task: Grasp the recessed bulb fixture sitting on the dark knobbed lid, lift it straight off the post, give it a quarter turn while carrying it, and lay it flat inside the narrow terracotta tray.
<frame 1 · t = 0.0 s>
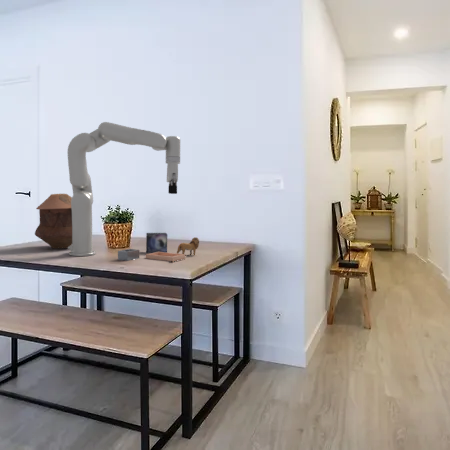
hand: (172, 193, 212), 31 cm above the table, tool pointing down, fingers open, 9 cm apart
recessed bulb fixture: (128, 258, 190), point 1 cm above the table, touching dark knobbed lid
small box: (156, 253, 213), on the table
dark knobbed lid: (128, 260, 190), on the table
tray: (165, 259, 194), on the table
lion figurine: (187, 255, 207), on the table
pottery vessel: (61, 248, 225), on the table
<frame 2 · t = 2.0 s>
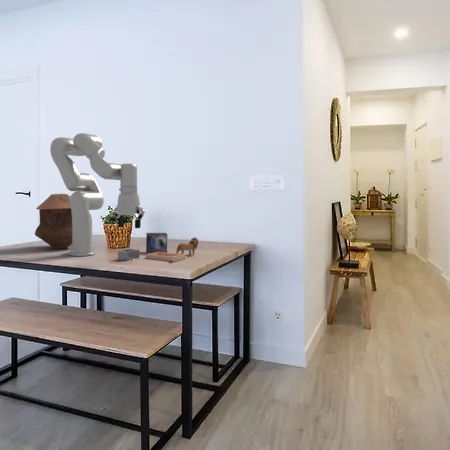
hand: (129, 227, 189), 15 cm above the table, tool pointing down, fingers open, 9 cm apart
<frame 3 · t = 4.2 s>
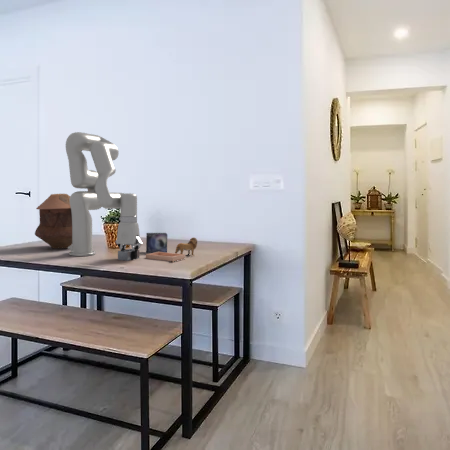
hand: (128, 258, 190), 1 cm above the table, tool pointing down, fingers closed on recessed bulb fixture, 5 cm apart
recessed bulb fixture: (128, 258, 190), point 1 cm above the table, touching gripper, dark knobbed lid
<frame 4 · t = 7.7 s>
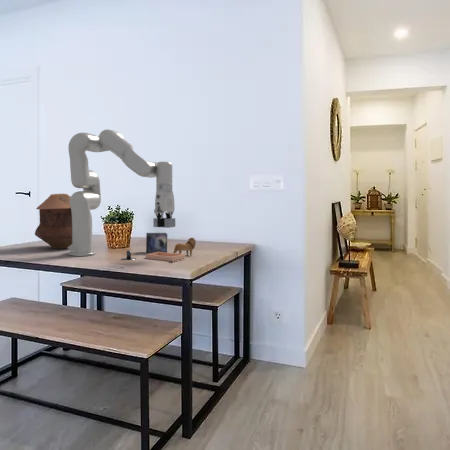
hand: (164, 226, 193), 16 cm above the table, tool pointing down, fingers closed on recessed bulb fixture, 5 cm apart
recessed bulb fixture: (164, 226, 193), point 16 cm above the table, touching gripper
lion figurine: (184, 256, 206), on the table
everything else where it was.
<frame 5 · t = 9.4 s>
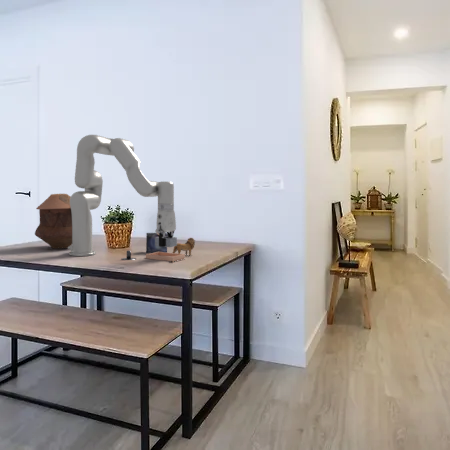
hand: (165, 245, 194), 7 cm above the table, tool pointing down, fingers closed on recessed bulb fixture, 5 cm apart
recessed bulb fixture: (165, 245, 194), point 6 cm above the table, touching gripper
when the fingers open (2 cm above the table, at t = 11.1 s): recessed bulb fixture drops 1 cm, resting on tray.
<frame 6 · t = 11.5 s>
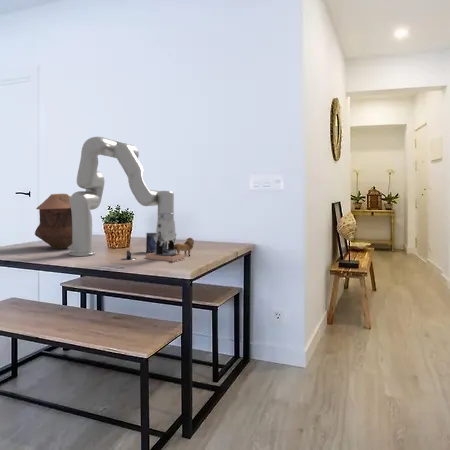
hand: (165, 252, 194), 3 cm above the table, tool pointing down, fingers open, 9 cm apart
recessed bulb fixture: (165, 258, 194), point 1 cm above the table, touching tray
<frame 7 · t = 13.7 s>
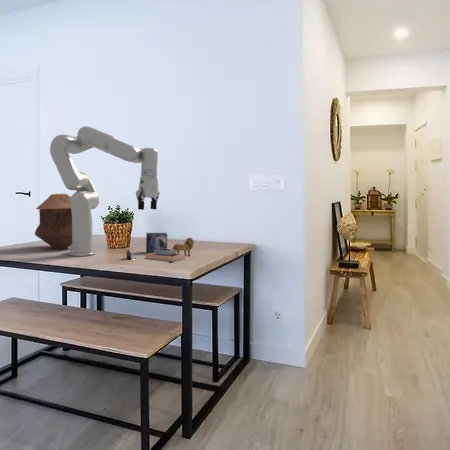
hand: (147, 209, 198), 23 cm above the table, tool pointing down, fingers open, 9 cm apart
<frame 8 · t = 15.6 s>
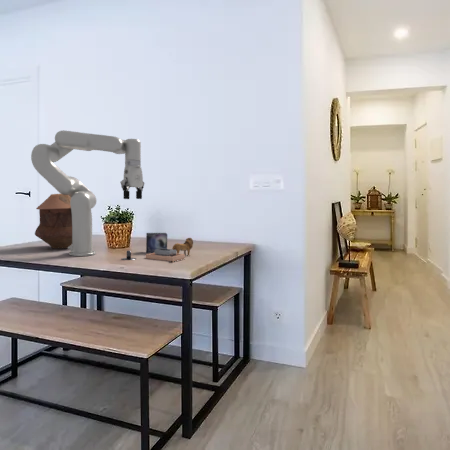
hand: (132, 198, 203), 28 cm above the table, tool pointing down, fingers open, 9 cm apart
at the end: recessed bulb fixture inside the target area on the tray (0.1 cm from its centre), point 0.6 cm above the tray's base; recessed bulb fixture tilted 0°; the gripper is holding nothing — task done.
